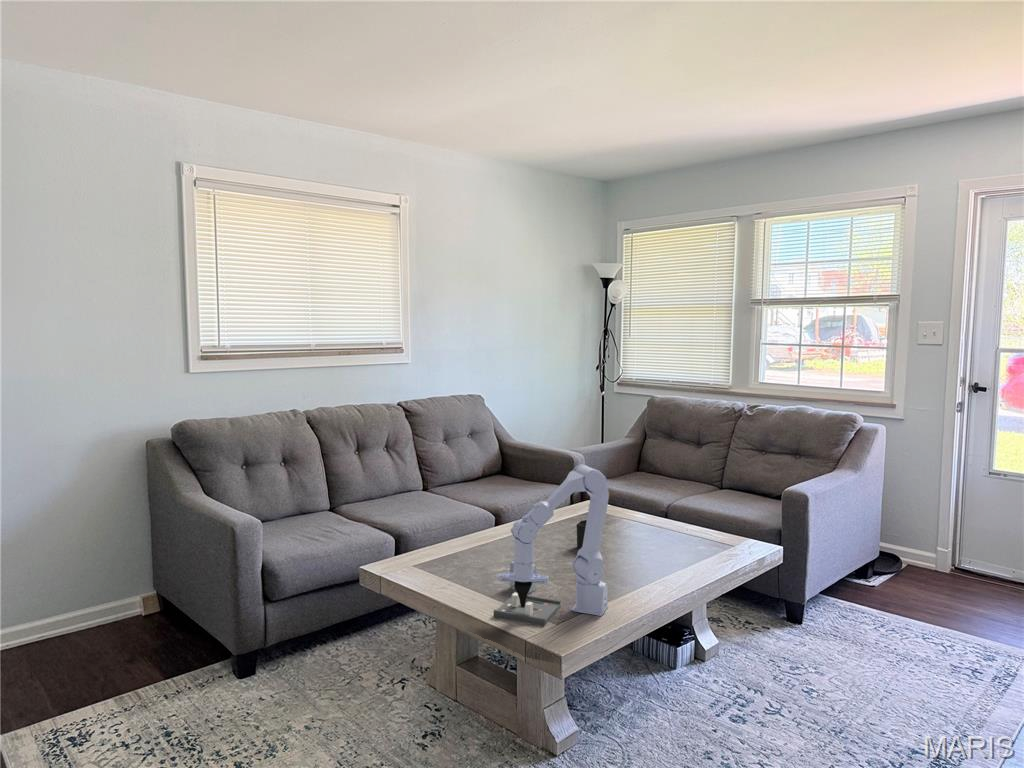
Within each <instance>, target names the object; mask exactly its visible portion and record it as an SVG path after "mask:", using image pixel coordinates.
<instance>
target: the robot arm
mask: <svg viewBox="0 0 1024 768" xmlns="http://www.w3.org/2000/svg"><path fill="white" fill-rule="evenodd" d="M580 492H583V493H584V492H586V493H587V495H588V496H589V497H590V498H589V504H588V512H587V516H586V520H587V522H586V528H585V534H584V540H583V546H582V548H581V549H578V550H577V554H576V557H575V558H574V560H573V562H572V570H573V571H574V573H575V575H576V577H575V583H576V584H575V604H574V606H573V607H572V608H571V612H575V613H580V614H581V613H582V614H587V615H588V614H589V615H594V616H600V617H602V616H603V615H604V613H605V612H606V610H607V609H608V607H609V605H608V598H609V597H608V593H609V591H608V590H609V589H608V588H609V587H608V583H606V582H603V581H602V579H603V578H604V575H605V570H604V566H603V565H604V558H603V555H602V554H601V546H602V541H603V540H602V539H603V536H604V535H603V534H604V528H605V523H606V516H607V510H608V505H609V498H610V492H609V488H608V485H607V477H606V476H605V475H604V473H602V472H601V470H598V469H595V468H592V467H590V466H588V465H586V464H583V463H581V464H578V465H575V467H574V468H573V469H572V470H570V471H569V473H568V474H567V476H566V478H565V479H564V480H563V482H562V483H561V484H560V485H559V486H558V487H557V488H556V489H555V490H554V492H553V493H552V494H551V495H550V496H548V498H547V499H546V500H544V501H539V502H536V503H535V502H534V504H533V508H532V509H530V511H528V512H527V514H526V515H523V516H522V517H521V519H518V520H515V522H513V524H512V528H510V532H511V535H512V536H513V537H514V538H513V541H514V544H513V562H514V573H510V572H502V573H501V572H500V573H499V574H498V582H499V583H500V582H510V581H511V582H515V585H514V587H515V589H516V590H515V589H514V590H515V592H516V593H518V596H519V599H520V603H521V607H525V604H526V598H527V595H529V593H528V592H529V590H530V588H531V585H532V583H536V584H541V585H542V584H543V585H545V586H548V584H549V575H543V574H542V575H541V574H537V573H536V574H533V564H534V541H535V540H536V539H537V536H538V532H539V531H540V529H542V528H543V527H544V525H545V524H546V523H548V522H549V520H551V518H553V517H554V514H555V513H554V511H555V509H556V508H557V507H559V506H560V505H561V504H562V503H563V502H565V500H567V499H568V498H569V497H570V496H571V495H572V494H573V493H580Z"/></svg>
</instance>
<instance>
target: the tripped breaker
mask: <svg viewBox="0 0 1024 768" xmlns="http://www.w3.org/2000/svg"><path fill="white" fill-rule="evenodd" d="M525 615H529V616H532V615H533V602H527V603H526V604H525Z"/></svg>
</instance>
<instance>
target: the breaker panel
mask: <svg viewBox="0 0 1024 768" xmlns="http://www.w3.org/2000/svg"><path fill="white" fill-rule="evenodd" d="M513 593H514V592H512V593H511V596H510V597H509V598H508V599H507V600H506V601H505V602H504V603H503V604H502V605H501V606H499V608H496V609H493V618H498V619H502V620H508V621H514V622H519V623H525V624H531V625H536V626H543V627H545V626H546V625H547V624H548V623H549V621H550V620H551V619H552V618H553V617H554V615H555V614H556V613H557V612H558V611H559V610H560V609H561V607H562V606H561V604H562V601H561V600H559V599H558V600H557V599H552V598H548V597H541V596H534V595H529V594H528V595H527V598H526V603H527V602H533V615H532V616H529V615H525V607H521V603H520V601H519V606H518V607H517V608H516V607H512V594H513Z"/></svg>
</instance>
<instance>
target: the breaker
mask: <svg viewBox="0 0 1024 768" xmlns="http://www.w3.org/2000/svg"><path fill="white" fill-rule="evenodd" d="M512 593H513V594H512ZM512 593H511V596H512V607H516V608H517V607H518V606H519V596H518V593H517V592H512Z"/></svg>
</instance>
